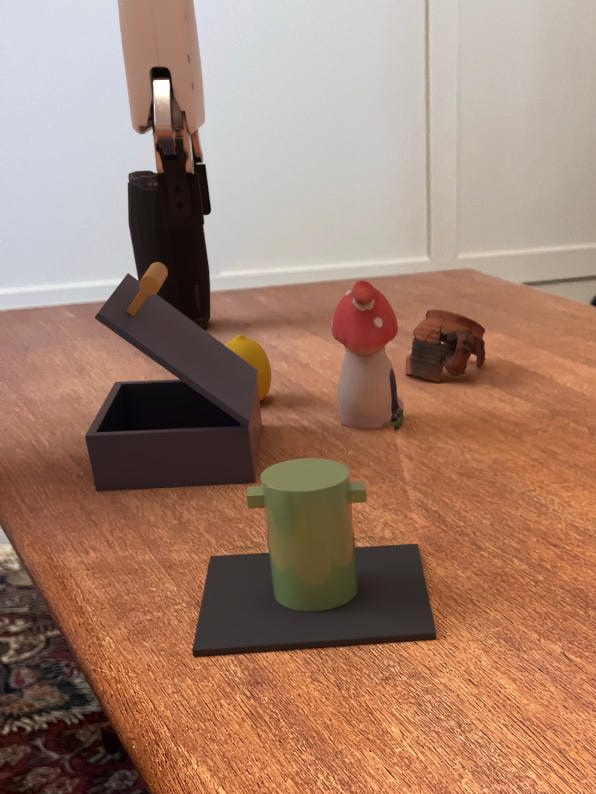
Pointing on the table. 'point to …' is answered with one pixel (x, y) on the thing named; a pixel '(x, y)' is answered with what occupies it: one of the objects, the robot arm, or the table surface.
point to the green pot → (310, 531)
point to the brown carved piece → (444, 345)
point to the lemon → (253, 360)
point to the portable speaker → (169, 250)
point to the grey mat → (291, 629)
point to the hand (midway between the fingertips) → (188, 218)
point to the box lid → (179, 343)
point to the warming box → (170, 439)
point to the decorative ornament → (366, 359)
